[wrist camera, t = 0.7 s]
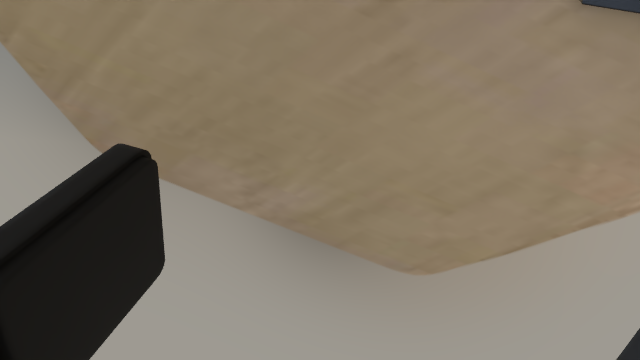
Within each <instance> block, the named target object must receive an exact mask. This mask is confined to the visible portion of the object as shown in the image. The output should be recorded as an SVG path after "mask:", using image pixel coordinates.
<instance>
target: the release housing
mask: <svg viewBox="0 0 640 360" xmlns="http://www.w3.org/2000/svg"><path fill="white" fill-rule="evenodd" d="M580 2H581V3H582V4H585V5H591V6H597V7H603V8H610V9H616V10H622V11H628V12H634V13H640V0H580Z"/></svg>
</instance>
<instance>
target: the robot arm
mask: <svg viewBox="0 0 640 360" xmlns="http://www.w3.org/2000/svg"><path fill="white" fill-rule="evenodd" d="M164 254H165V253H164V242H163V228H162V216H161V203H160V190H159V177H158V166H157V163H156V161H155V160H153V159H152V158H151V155H150V153H149V152H148V151H146V150H143V149H140V148H136V147H133V146H129V145H125V144H117V145H114V146H113V147H111V148H110V149H109V150H107V151H106V152H104V153H103V154H102V155H100V156H99V157H97V158H96V159H95V160H93V161H92V162H90V163H89V164H88V165H86V166H85V167H83V168H82V169H81V170H79V171H78V172H77V173H75V174H74V175H72V176H71V177H69V178H68V179H66V180H65V181H64V182H62V183H61V184H60V185H58V186H57V187H55V188H54V189H52V190H51V191H50V192H48V193H47V194H46V195H44V196H43V197H41V198H40V199H38V200H37V201H36V202H35V203H33V204H31V205H30V206H29V207H27V208H26V209H24V210H23V211H22V212H20V213H19V214H17V215H16V216H14V217H13V218H12V219H10V220H9V221H7V222H6V223H5V224H3V225H2V226H0V360H89V359H90V358H91V357H92V356H93V355H94V353H95V352H96V351H97V350H98V348H99V347H100V346H101V345H102V344H103V342H104V341H105V340H106V339H107V338H108V336H109V335H110V334H111V333H112V332H113V330H114V329H115V328H116V327H117V326H118V324H119V323H120V322H121V321H122V319H123V318H124V317H125V316H126V315H127V313H128V312H129V311H130V310H131V309H132V308H133V306H134V305H135V304H136V303H137V301H138V300H139V299H140V298H141V297H142V295H143V294H144V293H145V292H146V291H147V289H148V288H149V287H150V286H151V285H152V283H153V282H154V281H155V280H156V279H157V277H158V276H159V275H160V273H161V271H162V269H163V266H164V262H165V255H164ZM617 360H640V329H639V330H638V331H637V333H636V334H635V335H634V337H633V338H632V339H631V341H630V342H629V344H628V345H627V346H626V347H625V349H624V350H623V352H622V353H621V354H620V355H619V357H618V358H617Z"/></svg>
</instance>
